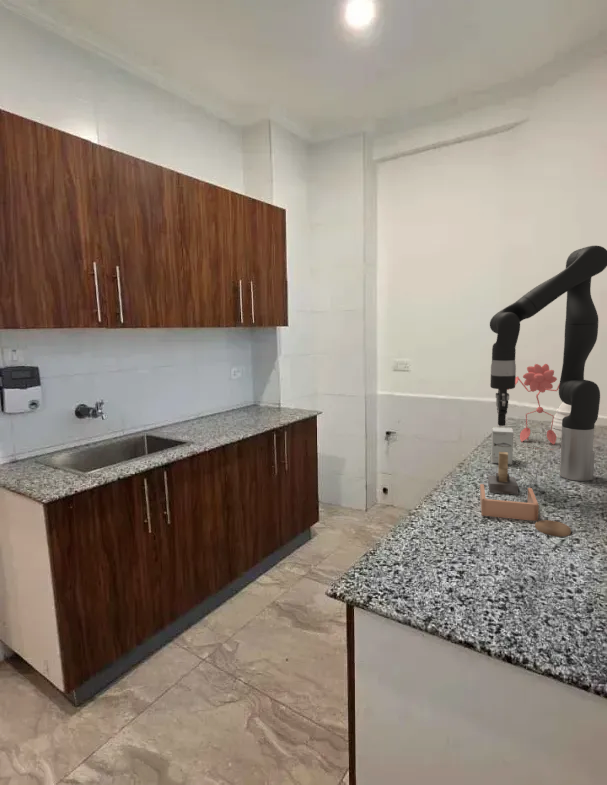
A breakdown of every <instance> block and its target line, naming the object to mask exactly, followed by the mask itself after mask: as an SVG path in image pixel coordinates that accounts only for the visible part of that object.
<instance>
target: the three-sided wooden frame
mask: <svg viewBox="0 0 607 785" xmlns="http://www.w3.org/2000/svg"><path fill="white" fill-rule="evenodd" d="M536 497H537V496H536V495H535V493H534V490H533V488H532V487H528V488H527V502H523V501H514V500H503V499H502V500H501V499H491V498H486V490H485V484H484V483H480V484H479V502H480V513H481V516H483V517H493V518H503V519H504V518H505V519H512V520H514V519H515V520H523V521H524V520H525V521H533V522H534V521H536V522H537V521H539V509H540V508H539V506H540V504H539V503H538V500H537V498H536Z"/></svg>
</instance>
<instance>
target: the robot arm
mask: <svg viewBox="0 0 607 785" xmlns="http://www.w3.org/2000/svg"><path fill="white" fill-rule="evenodd" d="M606 268H607V249H606V248H605V247H603V246H601V245H589V246H584V247H582V248H579V249H576V250H574V251H573V252H571V253H570V254H569V255H568V257H567V259H566V262H565V268H564V269H563V270H562V271H560V272H559V273H558V274H556V275H554V276H552V277H550V278H549V279H547V280H545V281H544V282H542V283H540V284H539V285H537V286H535V287H533V288H532V289H530V291H528V292H526V293H525V294H524V295H522V297H520V298H519V299H517V300H516V301H515V302H513V303H510V304H509V305H508V306H506V307H504V308H503V309H501V310H500V311H498V312H497V313H495V314H494V315H493V316H492V317H491V319H490V321H489V329H490V330H491V331H492V332H493V333H495V334H497V335H496V341H495V342H494V343H493V345H492V349H491V350H492V351H491V365H490V384H489V385H490V388H491V389H494V390H497V392H495V405H496V410H497V426H500V427H501V426H503V427H505V426H506V419H507V418H506V417H507V416H506V415H507V414H508V409H509V401H510V394H509V393H508V391H509V390H513V389H515V388H516V385H515V378H516V377H517V375H516V372H517V364H516V350H517V349H516V348H517V347H516V346H517V343H518V339H519V335H520V330H521V322H522V321H524V320H527V319H530V318H532V317H534V316H535V315H536V314H537V313H539V312H541V311H542V310H544V308H546V307H547V306H549V305H550V304H552V302H553V301H555V300H557V299H558V298H560V297H561V296H562V295H564V294H565V293H566V303H565V304H566V307H565V308H566V310H565V321H564V322H565V323H564V340H563V341H564V344H563V346H564V347H563V356H562V359H563V360H562V368H561V374H560V380H559V383H560V384H559V383H558V385H559V389H558V396H559V399H560V401H561V403H562V402H564V403H565V404H568V405H571V412H570V415H569V416H566V417H564V418H563V420H562V436H561V438H560V439H561V440H560V448H561V449H560V455H559V456H560V457H559V458H560V459H559V460H560V461H559V476H560V477H562V478H564V479H567V480H571V481H578V482H579V481H581V482H583V481H594V474H595V472H594V470H595V458H596V457H595V456H596V452H595V451H594V437H595V424H596V422H597V421H598V418H599V411H600V403H601V391H600V388H599V386H598V384H597V383H596V382H594V381H592V380H587V379H585V378H584V377H585V367H586V365H585V364H586V362H587V359H588V358H589V356H590V354H591V352H592V350H593V349H594V347H595V344H596V343H597V340H598V331H599V314H598V311H597V308H596V306H595V304H594V303H595V302H594V301H593V298H592V295H591V294H592V293H591V288H592V287H591V286H592V277H594V276H596V275H599V274H600V273H602V272H603V271H604V270H606ZM508 389H509V390H508Z"/></svg>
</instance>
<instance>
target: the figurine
mask: <svg viewBox="0 0 607 785" xmlns="http://www.w3.org/2000/svg"><path fill="white" fill-rule="evenodd" d="M526 370H527V372H526V373H524V374H523V376H522V378H524V382H523V381H522V380H521V379H520V377H519V376H517V375H516V378H515V386H517V384H518V382H520V384H521V385H522V386H523V388H524V389H525V390H526V391H527V392H530V393H531V392H533V393H534V392H536V391H538V393H537V394H536V396H535V397H536V401H537V403H538V406H537V408H536V410H533V411H530V412H528V413H525V422H526V423H525V425H526V427H524V428H523V429H522V430H521V431H520V433H519V438H520V442H521V443H522V442H524V441H526V440H527V441H528V440H530V439H529V437H530V435H531V429H530V427H528V415H529V414H532V413H536V412H537V413H538V414H541V413H545V414H547V415H549V416H552V421H551V422H552V425H553V419H554V416H555V415H553V414H550V413H549V412H547V411H544V408H543V407H542V406H541V404H540V401H539V395H540V393H542V394H543V393H545V392H546V391H550V392H558V391H559V384H560V382H559V383H558V385H557V388H556V389H553V387H554V386H553V383H555V382H556V381H557V380H558V378H557V377H556V376H554V375H555V370H554V369H550V365H549V364H548V363H545V364H543V365H540V364H538V363H535V364H534V366H531V365H529V366H527V367H526ZM527 386H529V389H528V387H527ZM509 390H510V389H508V390H507V391H509ZM552 425H551V424H550V429H548V430H547V431H546V438H547V440H548V441H549V442H550V444H552V445H553V446H554V445H555V444H556V441H557V437H556V434H555V433H554V431H552ZM523 447H525V448H526V445H525V446H524V445H523ZM529 448H530V449H531V447H530V446H529V447H528V449H529ZM534 449H535V450H540V448H537V447H535V448H534ZM558 449H559V450H561V447H559V448H558ZM549 450H551V451H553V448H549Z"/></svg>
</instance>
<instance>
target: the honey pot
mask: <svg viewBox="0 0 607 785" xmlns="http://www.w3.org/2000/svg"><path fill="white" fill-rule="evenodd" d="M570 412H571V405H568V404H565V403H564V402H562V401H561V403H560V405H559V407H558V408H556V409H555V413H554V415H553V416H554V419H553V418H552V419H553V425H552V421H551V423H550V426H551V425H552V431H554V433H555V434H556V438H560V439H561V436H562V420H563V418H564V417H566V416H569V415H570Z"/></svg>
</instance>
